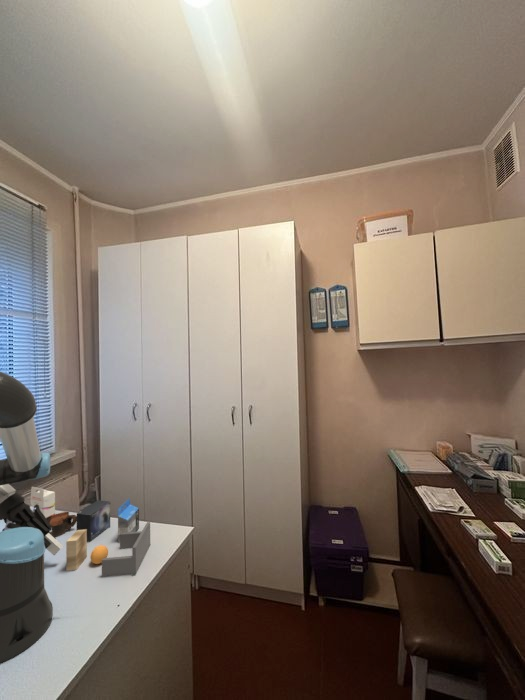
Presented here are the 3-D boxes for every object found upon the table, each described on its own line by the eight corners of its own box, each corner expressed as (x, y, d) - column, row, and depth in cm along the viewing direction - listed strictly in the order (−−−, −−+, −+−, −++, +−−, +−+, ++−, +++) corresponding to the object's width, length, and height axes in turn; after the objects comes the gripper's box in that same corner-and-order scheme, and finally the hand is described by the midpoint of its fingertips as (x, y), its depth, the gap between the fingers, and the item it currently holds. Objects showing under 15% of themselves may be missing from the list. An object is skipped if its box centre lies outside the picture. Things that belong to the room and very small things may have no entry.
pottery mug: (37, 544, 105) (37, 519, 108) (53, 541, 113) (53, 518, 117) (71, 531, 107) (71, 507, 111) (85, 529, 115) (84, 507, 119)
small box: (90, 544, 103) (90, 514, 103) (75, 542, 104) (75, 513, 105) (111, 527, 113) (111, 500, 114) (97, 526, 114) (97, 499, 115)
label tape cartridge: (127, 544, 102) (127, 509, 103) (117, 544, 102) (117, 509, 103) (139, 529, 111) (139, 497, 112) (129, 529, 111) (129, 497, 112)
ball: (103, 567, 90) (103, 551, 90) (87, 568, 90) (87, 552, 90) (110, 556, 95) (110, 541, 95) (95, 557, 95) (95, 542, 95)
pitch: (135, 577, 86) (135, 548, 86) (51, 584, 84) (51, 555, 85) (150, 545, 101) (150, 521, 101) (80, 551, 99) (80, 526, 99)
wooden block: (76, 569, 89) (76, 540, 89) (66, 570, 89) (66, 541, 89) (86, 556, 95) (86, 529, 95) (77, 557, 95) (77, 530, 95)
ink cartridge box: (56, 519, 120) (56, 484, 121) (43, 526, 116) (43, 489, 116) (42, 516, 123) (42, 482, 124) (29, 522, 119) (29, 486, 119)
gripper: (11, 500, 97) (62, 547, 98) (-24, 522, 84) (35, 575, 85) (28, 484, 98) (78, 530, 99) (-4, 502, 85) (54, 555, 86)
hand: (58, 550), depth 92 cm, fingers closed
